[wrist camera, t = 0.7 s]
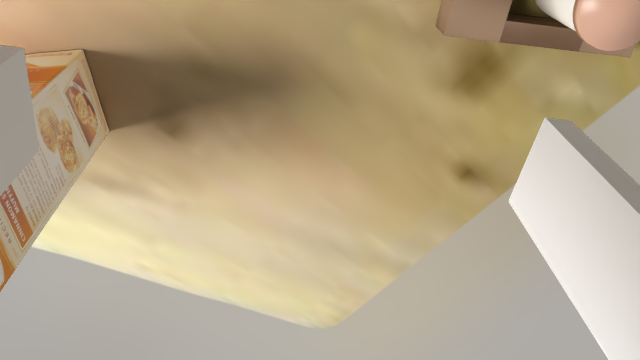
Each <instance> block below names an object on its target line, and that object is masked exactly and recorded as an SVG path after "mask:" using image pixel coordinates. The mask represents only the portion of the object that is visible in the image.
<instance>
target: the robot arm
mask: <svg viewBox="0 0 640 360" xmlns="http://www.w3.org/2000/svg"><path fill="white" fill-rule="evenodd" d="M38 151H39V146H38V139H37V132H36V126H35V119H34V112H33V106H32V99H31V92H30V85H29V79H28V72H27V65H26V59H25V52H24V48H19V47H12V46H4V45H0V196H1V195H2V193H3V192H4V191H5V190H6V189H7V188H8V186H9V185H10V184H11V183H12V182H13V181H14V179H15V178H16V177H17V176H18V175H19V173H20V172H21V171H22V170H23V169H24V168H25V166H26V165H27V164H28V163H29V162H30V160H31V159H32V158H33V157H34V156H35V155H36V153H37V152H38ZM509 203H510V205H511V206H512V208H513V209H514V211H515V213H516V214H517V216H518V217H519V219H520V220H521V222H522V224H523V225H524V227H525V228H526V230H527V232H528V233H529V235H530V236H531V238H532V240H533V241H534V243H535V244H536V246H537V247H538V249H539V251H540V252H541V254H542V255H543V257H544V258H545V260H546V262H547V263H548V265H549V266H550V268H551V269H552V271H553V273H554V274H555V276H556V277H557V279H558V281H559V282H560V284H561V285H562V287H563V288H564V290H565V292H566V293H567V295H568V296H569V298H570V300H571V301H572V303H573V304H574V306H575V307H576V309H577V311H578V312H579V314H580V315H581V317H582V318H583V320H584V322H585V323H586V325H587V326H588V328H589V329H590V331H591V333H592V334H593V336H594V337H595V339H596V341H597V342H598V344H599V345H600V347H601V349H602V350H603V351H604V353H605V355H606V356H607V358H608V360H640V185H639V184H638V183H637V182H635V180H634V179H633V178H631V177H630V176H629V175H628V174H627V173H626V172H625V171H624V170H623V169H622V168H621V167H620V166H619V165H617V163H615V162H614V161H613V160H612V159H611V158H610V157H609V156H608V155H607V154H606V153H605V152H604V151H603V150H602V149H601V148H600V147H598V146H597V145H596V144H595V143H594V142H593V141H592V140H591V139H590V138H589V137H588V136H587V135H586V134H584V132H583V131H582V130H580V129H579V128H578V127H577V126H576V125H575V124H574V123H573V122H572V121H569V120H561V119H554V118H546V117H545V118H544V120H543V123H542V125H541V127H540V130H539V132H538V134H537V136H536V139H535V141H534V143H533V146H532V148H531V150H530V153H529V155H528V157H527V160H526V162H525V164H524V166H523V169H522V171H521V173H520V176H519V178H518V180H517V183H516V185H515V187H514V190H513V192H512V194H511V197H510V199H509Z"/></svg>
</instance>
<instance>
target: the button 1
mask: <svg viewBox="0 0 640 360" xmlns="http://www.w3.org/2000/svg"><path fill="white" fill-rule="evenodd" d="M535 2H536V4H537V6H538V7H539V8H540V10H542V11H543V12H544V13H546V14H548V15H549V16H551V17H553V18H554V19H556V20H557V21H559V22H561V23H562V24H564V25H566V26H567V27H569V28H571V29H572V30H574V31H576V32H577V34H578V35H579V37H580V38H581V39H582V40H584V41H585V42H586V43H588V44H590V45H591V46H593V47H595V48H597V49H600V50H604V51H616V50H621V49H625V48H628V47H630V46H632V45H634V44H636V43H638V42H639V41H640V0H535Z"/></svg>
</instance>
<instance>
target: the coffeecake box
mask: <svg viewBox="0 0 640 360" xmlns="http://www.w3.org/2000/svg"><path fill="white" fill-rule="evenodd" d="M25 59H26V65H27V72H28V79H29V85H30V92H31V99H32V106H33V112H34V119H35V126H36V132H37V139H38V146H39V151H38V152H37V153H36V155H35V156H34V157H33V158H32V159H31V160H30V162H29V163H28V164H27V165H26V166H25V168H24V169H23V170H22V171H21V172H20V173H19V175H18V176H17V177H16V178H15V179H14V181H13V182H12V183H11V184H10V185H9V186H8V188H7V189H6V190H5V191H4V192H3V193H2V195H1V196H0V291H1V290H2V288H3V287H4V285H5V284H6V282H7V281H8V279H9V278H10V276H11V275H12V274H13V272H14V271H15V269H16V268H17V266H18V265H19V263H20V262H21V260H22V259H23V257H24V256H25V254H26V253H27V251H28V250H29V248H30V247H31V246H32V244H33V243H34V241H35V240H36V238H37V237H38V235H39V234H40V232H41V231H42V229H43V228H44V226H45V225H46V224H47V222H48V221H49V219H50V218H51V216H52V215H53V213H54V212H55V210H56V209H57V207H58V206H59V204H60V203H61V202H62V200H63V199H64V197H65V196H66V194H67V193H68V191H69V190H70V188H71V187H72V185H73V184H74V182H75V181H76V180H77V178H78V177H79V175H80V174H81V172H82V171H83V169H84V168H85V166H86V165H87V163H88V162H89V160H90V159H91V157H92V156H93V154H94V153H95V151H96V150H97V148H98V147H99V146H100V144H101V143H102V141H103V140H104V138H105V137H106V135H107V134H108V133H109V128H108V125H107V123H106V120H105V117H104V114H103V111H102V107H101V104H100V101H99V98H98V95H97V92H96V89H95V86H94V83H93V79H92V75H91V72H90V69H89V66H88V64H87V61H86V58H85V54H84V51H83V50H70V51H59V52H48V53H38V54H28V55H25Z"/></svg>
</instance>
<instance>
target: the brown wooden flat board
mask: <svg viewBox="0 0 640 360" xmlns="http://www.w3.org/2000/svg"><path fill="white" fill-rule="evenodd" d="M511 3H512V0H442V3H441V7H440V11H439V15H438V19H437V23H436V27H437V28H438V29H439V30H440V31H441V32H442V33H443V35H444V36H451V37H460V38H468V39H477V40H485V41H494V42H502V43H511V44H519V45H527V46H536V47H544V48H553V49H561V50H570V51H578V52H587V53H595V54H604V55H612V56H620V57H629V58H630V57H631V54H632V52H633V50H634V48H635V46H636V44H637V43H636V44H634V45H632V46H630V47H628V48H625V49H621V50H616V51H604V50H600V49H597V48H595V47H593V46H591V45H590V44H588V43H586V42H585V41H584V40H582V39H581V38H580V37H579V35H578V34H577V32H576V31H574V30H572V29H571V28H569V27H567V26H566V25H564V24H562V23H561V22H559V21H557V20H556V19H549V18H541V17H533V16H525V15H517V14H509V10H510V6H511Z"/></svg>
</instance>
